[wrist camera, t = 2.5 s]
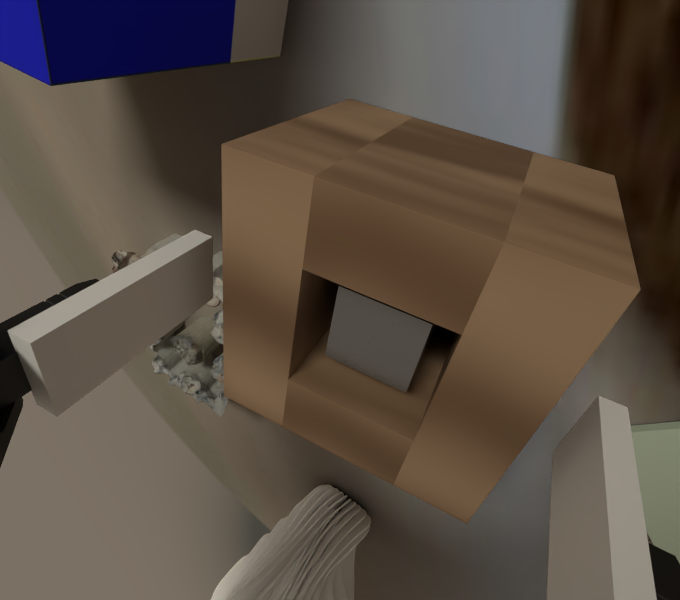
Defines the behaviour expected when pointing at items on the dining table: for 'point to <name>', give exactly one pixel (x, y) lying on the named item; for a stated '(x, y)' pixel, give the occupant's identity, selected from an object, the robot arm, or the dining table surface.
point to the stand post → (377, 338)
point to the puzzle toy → (135, 36)
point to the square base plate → (660, 481)
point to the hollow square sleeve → (415, 288)
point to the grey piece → (190, 342)
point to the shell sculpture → (303, 553)
